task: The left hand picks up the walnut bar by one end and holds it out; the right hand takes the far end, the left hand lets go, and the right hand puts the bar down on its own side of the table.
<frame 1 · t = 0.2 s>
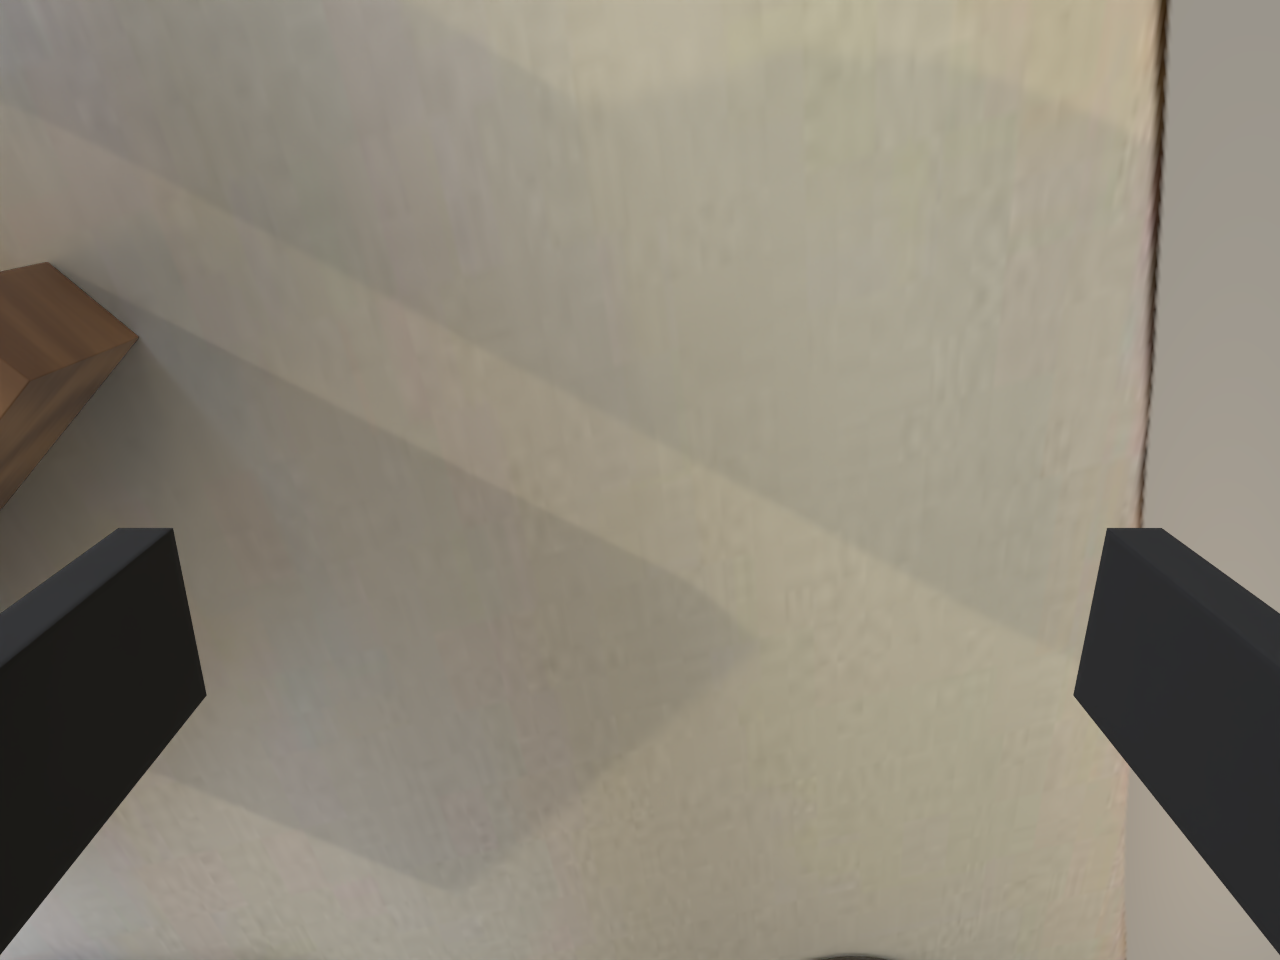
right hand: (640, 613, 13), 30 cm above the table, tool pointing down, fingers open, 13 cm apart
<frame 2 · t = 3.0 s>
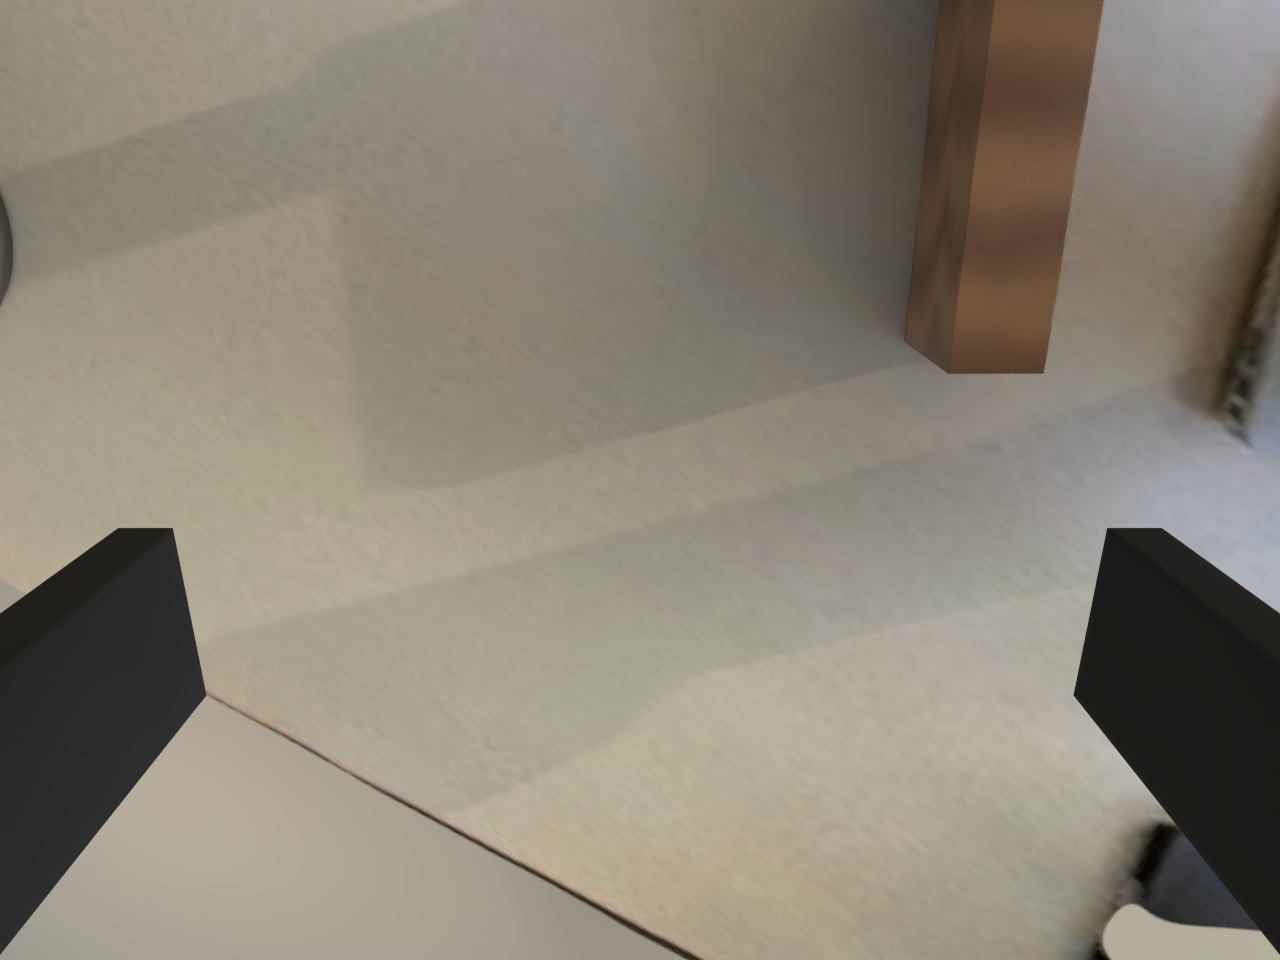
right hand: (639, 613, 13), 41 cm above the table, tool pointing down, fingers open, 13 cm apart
bar: (973, 113, 48), on the table, touching left hand
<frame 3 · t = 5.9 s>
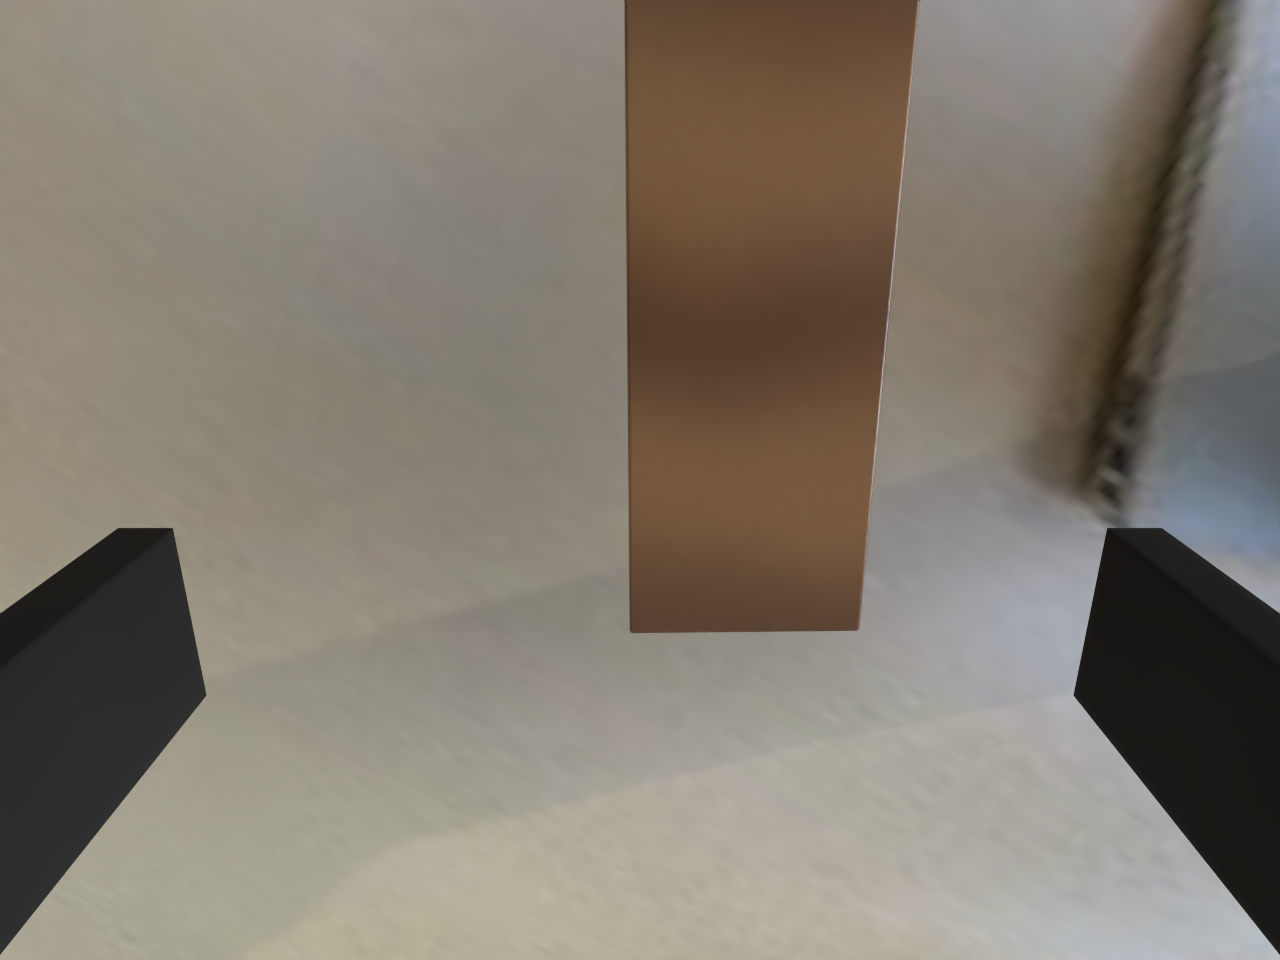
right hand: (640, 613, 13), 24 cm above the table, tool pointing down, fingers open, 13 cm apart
bar: (724, 24, 22), point 11 cm above the table, touching left hand
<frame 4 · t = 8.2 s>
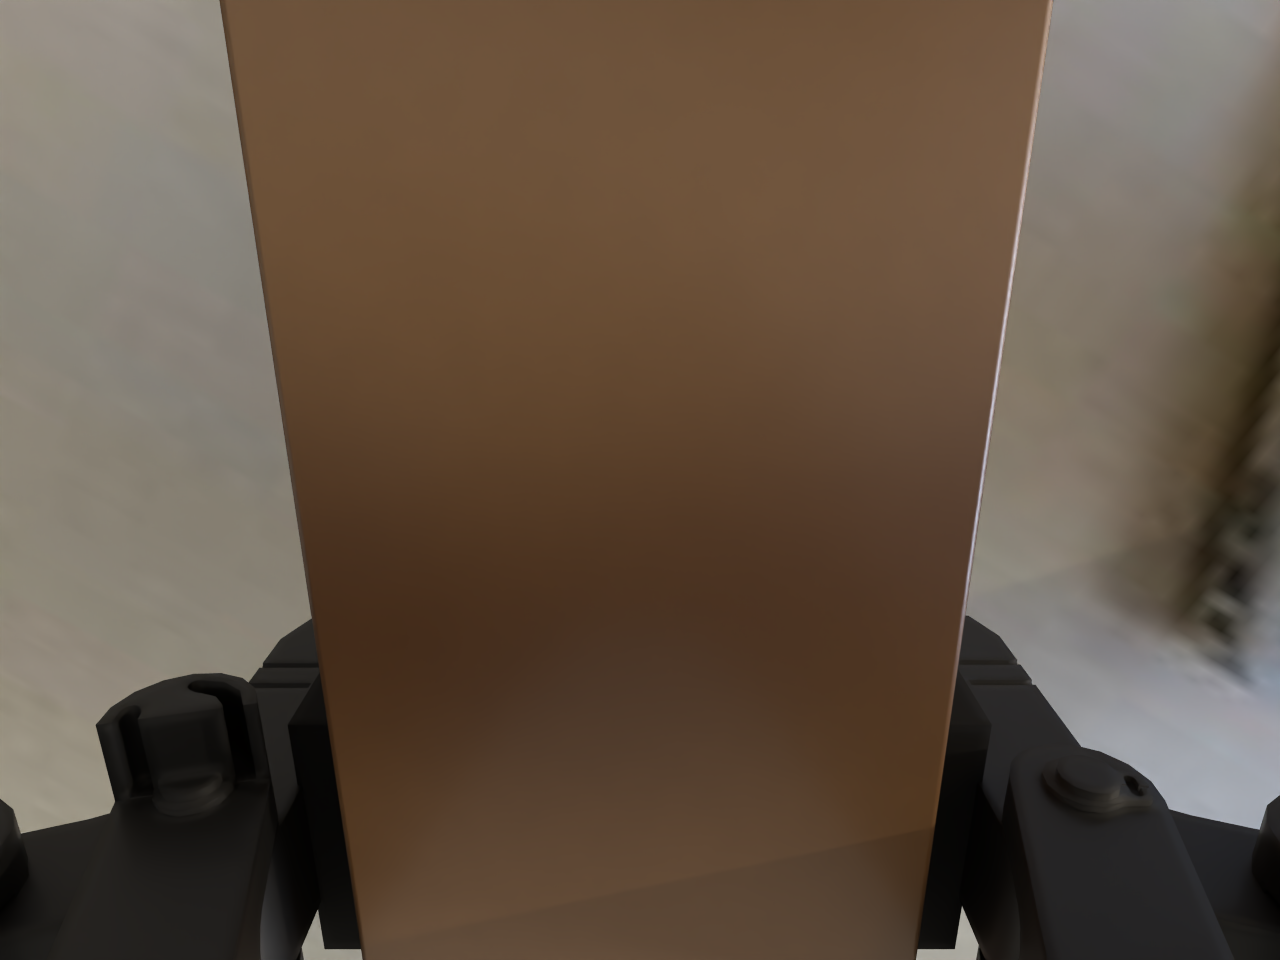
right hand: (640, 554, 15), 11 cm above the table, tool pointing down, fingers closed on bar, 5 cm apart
when the left hand's fingers open (11 cm above the table, at t = 8.8 s): bar stays where it is, held by the right hand.
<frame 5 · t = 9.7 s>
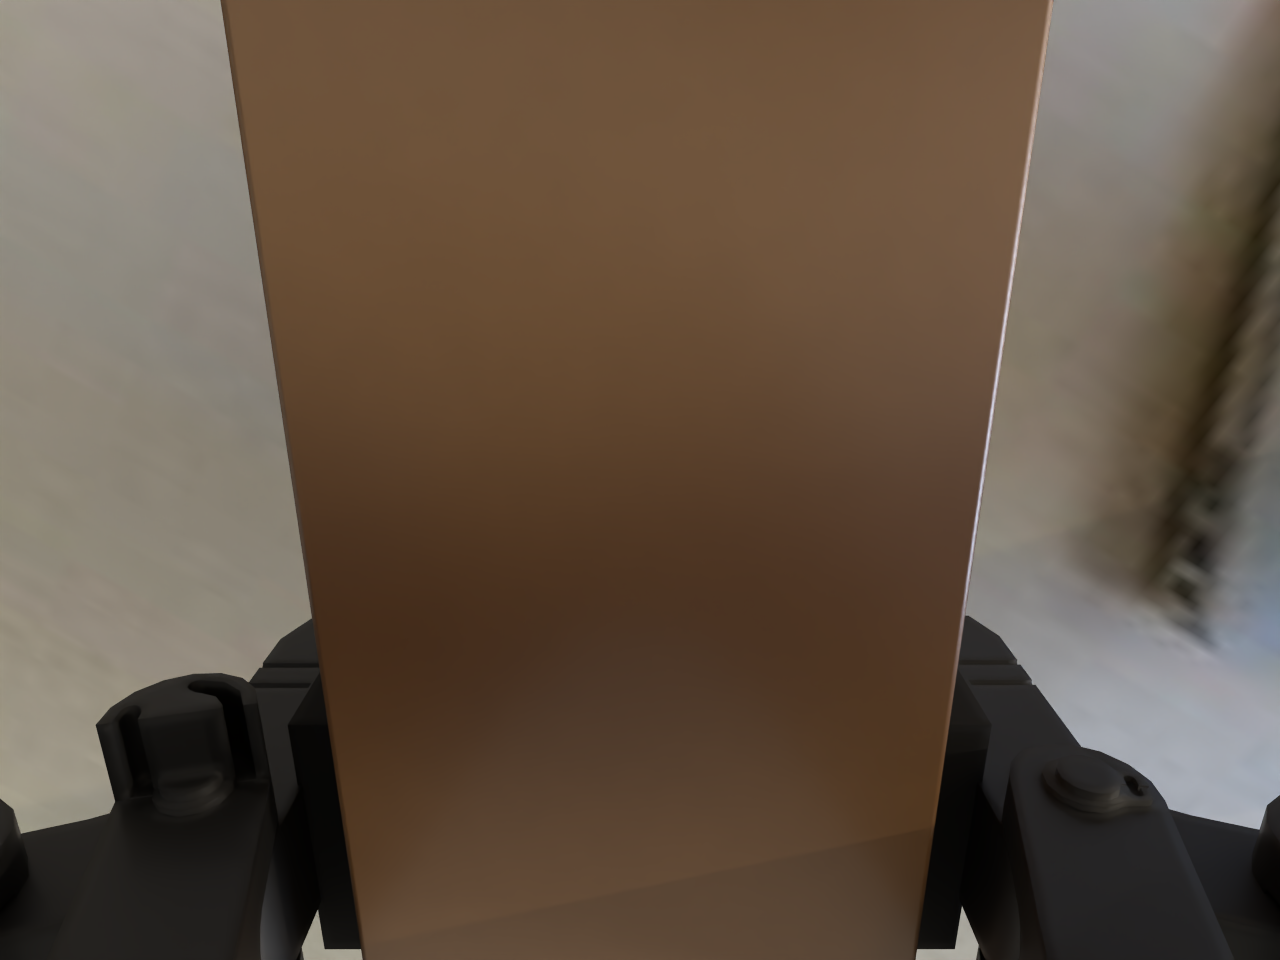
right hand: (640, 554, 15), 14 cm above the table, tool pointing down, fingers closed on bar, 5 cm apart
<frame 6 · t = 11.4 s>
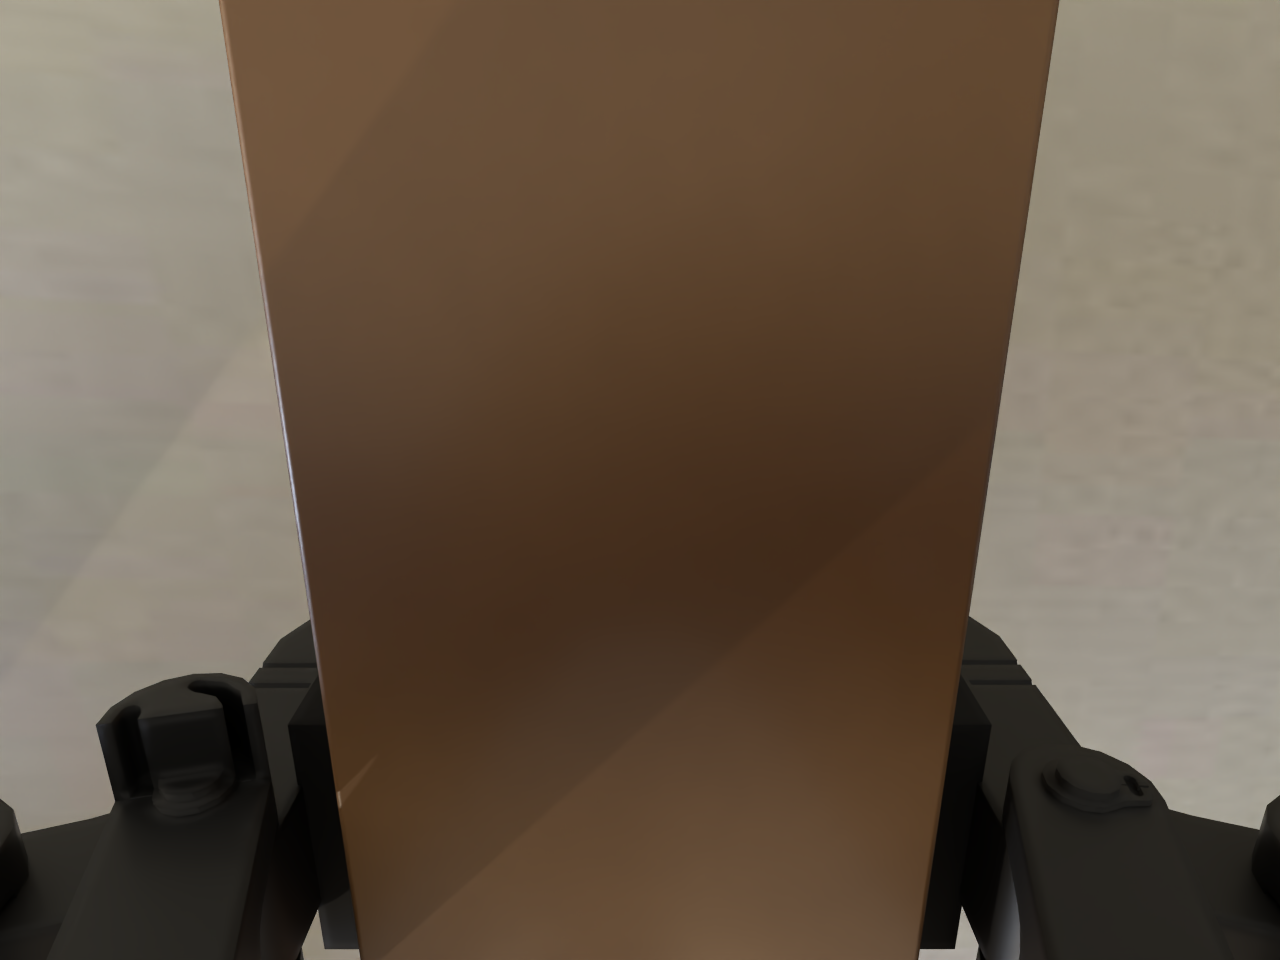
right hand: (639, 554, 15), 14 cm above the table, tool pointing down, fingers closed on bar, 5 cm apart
when the right hand's fingers open (2 cm above the table, at t = 13.0 s): bar drops 2 cm, on the table.
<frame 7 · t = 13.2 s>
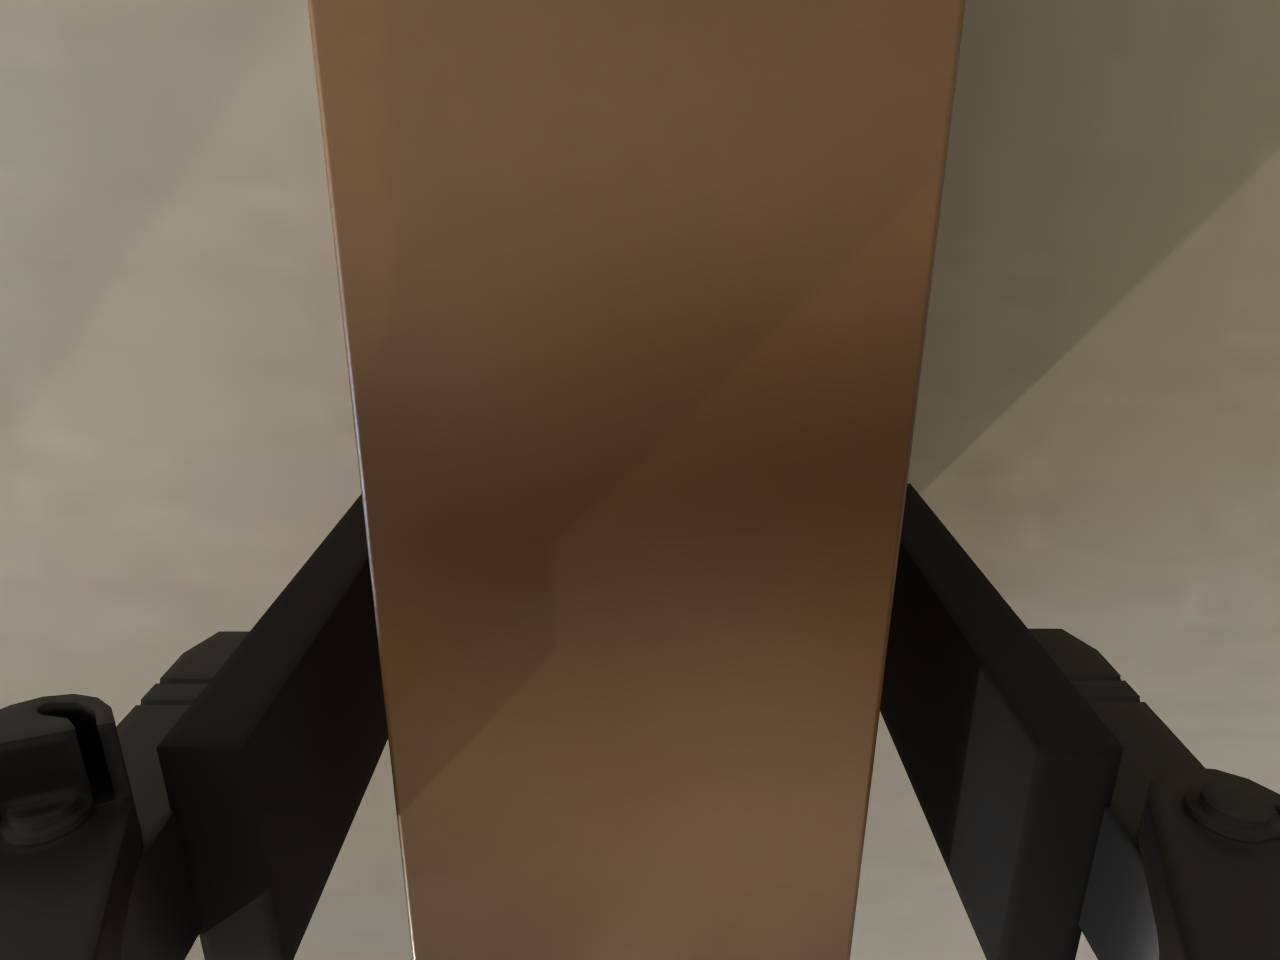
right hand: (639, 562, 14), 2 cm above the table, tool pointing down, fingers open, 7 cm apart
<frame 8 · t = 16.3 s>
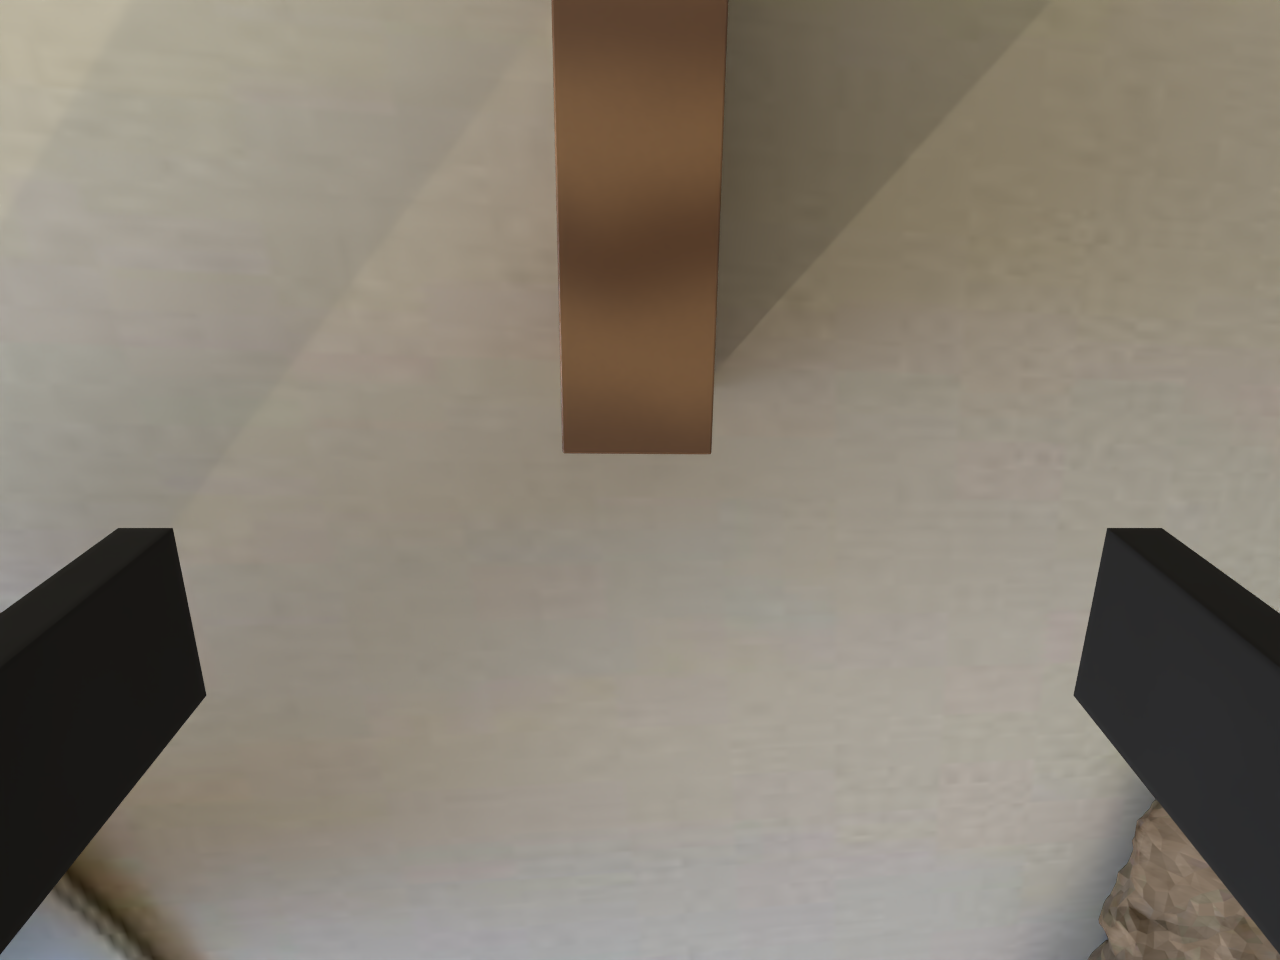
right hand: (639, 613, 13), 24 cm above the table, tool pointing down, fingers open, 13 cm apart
bar: (639, 59, 32), on the table
stone: (1205, 887, 46), on the table
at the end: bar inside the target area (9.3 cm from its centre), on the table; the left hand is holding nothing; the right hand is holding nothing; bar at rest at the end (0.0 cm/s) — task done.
